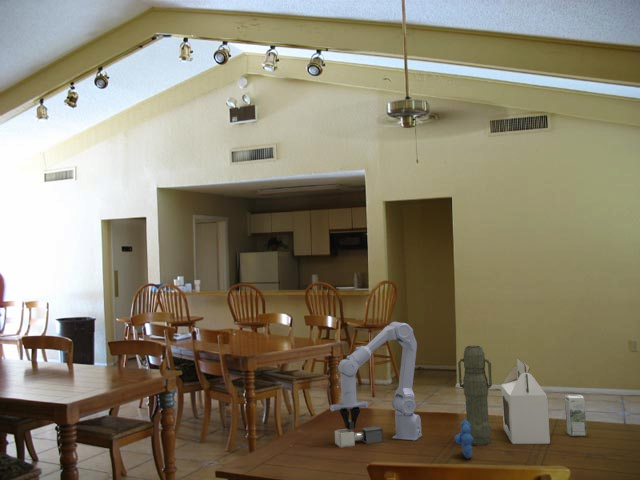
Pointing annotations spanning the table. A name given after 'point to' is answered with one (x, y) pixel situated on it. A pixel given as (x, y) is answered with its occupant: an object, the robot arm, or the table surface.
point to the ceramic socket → (344, 438)
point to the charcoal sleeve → (373, 434)
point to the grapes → (465, 438)
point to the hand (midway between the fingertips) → (350, 428)
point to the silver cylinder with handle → (356, 435)
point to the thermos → (476, 393)
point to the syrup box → (575, 415)
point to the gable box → (524, 407)
